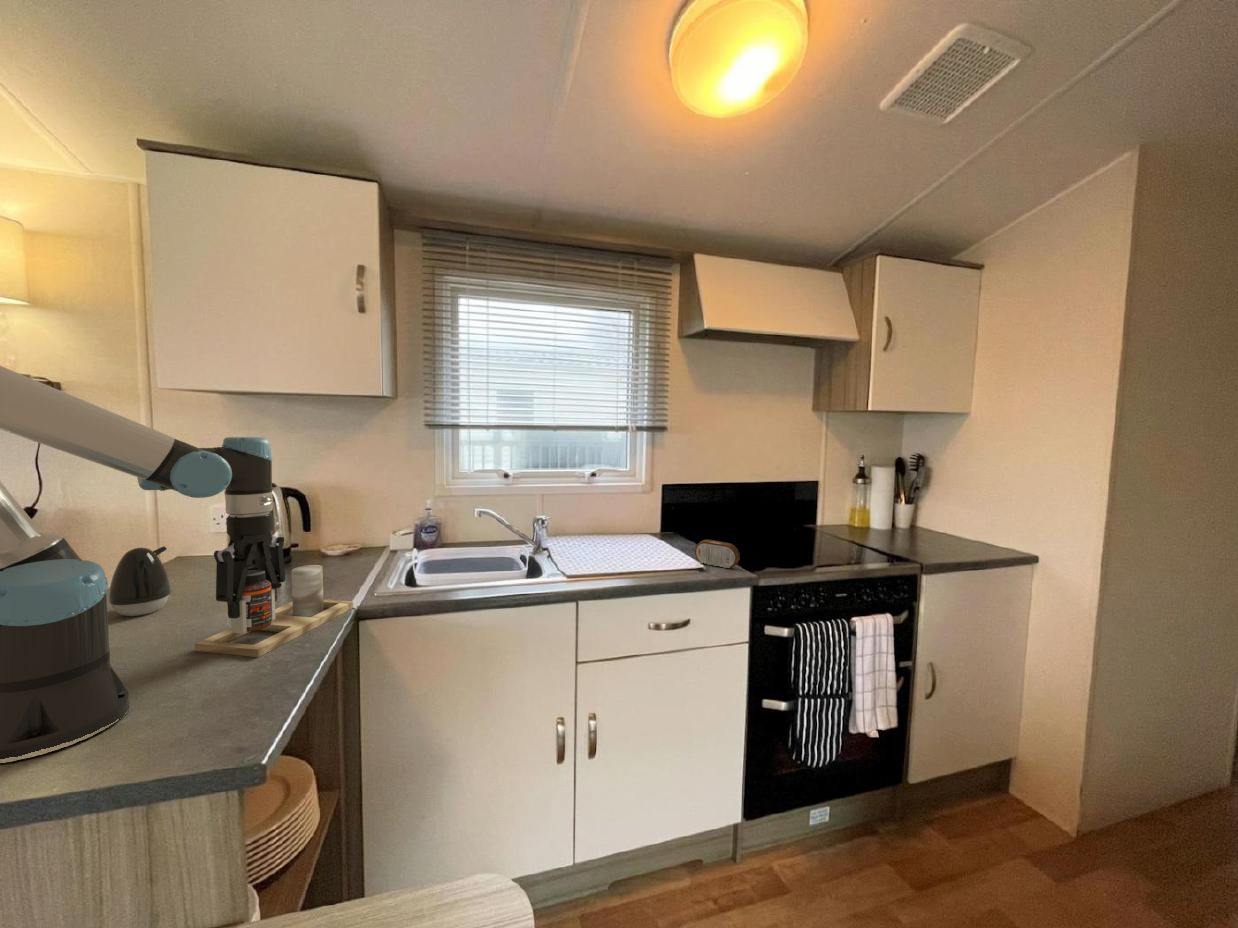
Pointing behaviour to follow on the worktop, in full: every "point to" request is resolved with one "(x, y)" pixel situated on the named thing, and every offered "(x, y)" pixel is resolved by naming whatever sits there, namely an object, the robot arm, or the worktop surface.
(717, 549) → the tin
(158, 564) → the pump dispenser
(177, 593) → the worktop surface
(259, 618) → the supplement bottle
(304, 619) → the frame
